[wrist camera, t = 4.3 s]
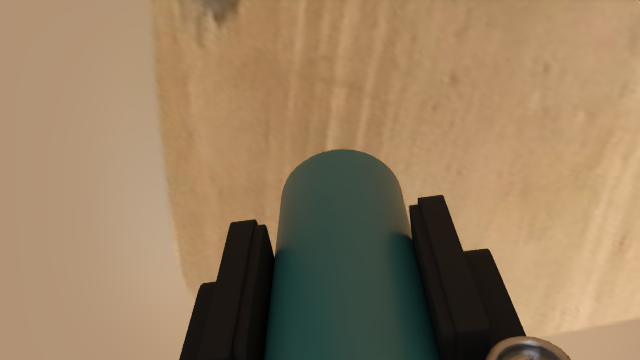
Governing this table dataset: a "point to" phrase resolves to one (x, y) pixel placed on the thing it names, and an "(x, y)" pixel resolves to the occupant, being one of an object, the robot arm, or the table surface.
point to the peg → (346, 267)
